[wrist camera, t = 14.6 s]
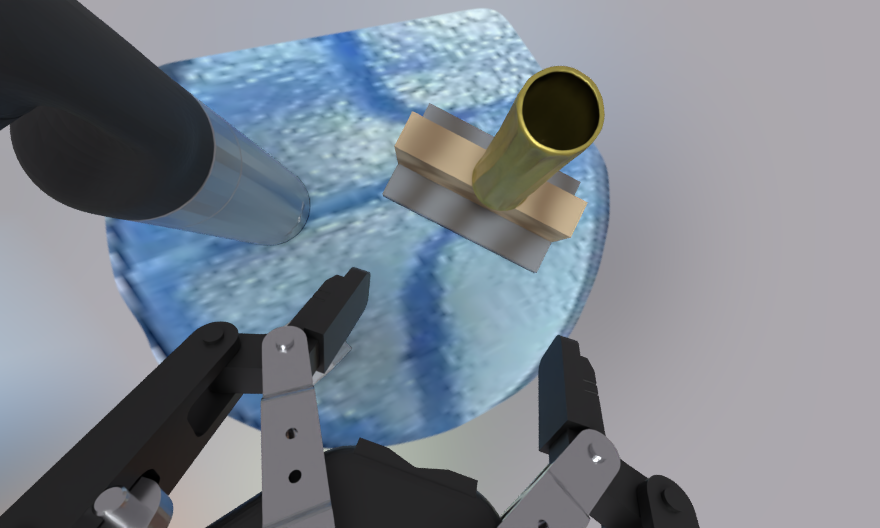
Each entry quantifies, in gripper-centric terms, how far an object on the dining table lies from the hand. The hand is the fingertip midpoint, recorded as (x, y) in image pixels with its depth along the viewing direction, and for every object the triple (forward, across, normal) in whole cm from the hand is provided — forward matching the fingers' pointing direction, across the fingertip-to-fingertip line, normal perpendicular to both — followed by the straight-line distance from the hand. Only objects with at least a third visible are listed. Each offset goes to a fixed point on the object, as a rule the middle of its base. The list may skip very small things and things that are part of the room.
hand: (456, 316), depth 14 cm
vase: (+23, -1, +3) cm, 23 cm away
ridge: (+27, +1, +6) cm, 28 cm away
